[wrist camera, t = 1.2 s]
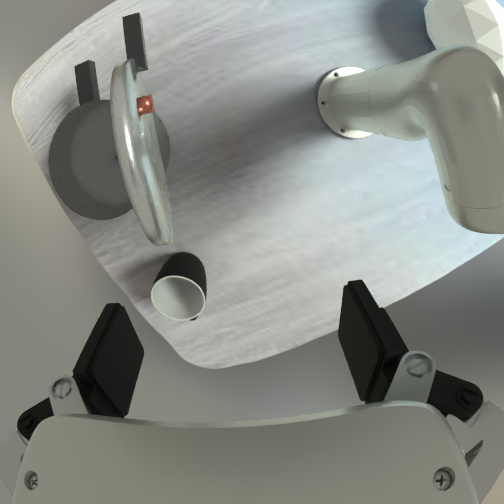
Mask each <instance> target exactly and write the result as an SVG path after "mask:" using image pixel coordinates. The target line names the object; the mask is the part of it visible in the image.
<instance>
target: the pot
mask: <svg viewBox="0 0 504 504" xmlns="http://www.w3.org/2000/svg"><path fill="white" fill-rule="evenodd" d="M75 75H76V83H77V90H78V97H79V103H80V106H79V107H77V108H75V109H74V110H73V111H71V112H70V113H69V114H68V115H67V116H66V117H65V118H64V119H63V120H62V122H61V123H60V125H59V126H58V128H57V130H56V132H55V134H54V136H53V139H52V142H51V146H50V151H49V171H50V176H51V180H52V183H53V185H54V188H55V190H56V192H57V193H58V195H59V197H60V198H61V199H62V201H63V202H64V203H65V204H66V205H67V206H68V207H69V208H70V209H72V210H73V211H74V212H76V213H78V214H79V215H81V216H84V217H86V218H90V219H96V220H107V219H112V218H115V217H118V216H121V215H123V214H125V213H126V212H128V211H129V210H131V209H132V208H133V206H132V204H131V201H130V198H129V195H128V192H127V189H126V186H125V183H124V180H123V176H122V172H121V169H120V165H119V160H118V156H117V151H116V146H115V140H114V134H113V127H112V118H111V104H110V100H100V96H99V90H98V83H97V76H96V69H95V62H94V61H90V60H87V61H85V62H83V63H81V64H79V65H77V66H75ZM152 115H153V119H154V123H155V124H156V128H157V133H158V138H159V143H160V147H161V152H162V157H163V161H164V162H163V167H164V171H165V169H166V166H167V163H168V159H169V152H170V144H169V137H168V134H167V131H166V128H165V126H164V124H163V122H162V121H161V119H160V118H159V117H158V116H157V114H156V113H154V112H152Z"/></svg>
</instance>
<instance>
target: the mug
mask: <svg viewBox="0 0 504 504" xmlns="http://www.w3.org/2000/svg"><path fill="white" fill-rule="evenodd" d="M206 292H207V287H206V274H205V270H204V266H203V264H202V262H201V261H200V260H199V259H198V258H197V257H196V256H195V255H193V254H190V253H185V252H183V253H178V254H175V255H173V256H172V257H171V258H169V259H168V260H167V262H166V263H165V264H164V265H163V267H162V268H161V270H160V272H159V273H158V275H157V277H156V279H155V281H154V283H153V286H152V289H151V301H152V304H153V305H154V307H155V308H156V310H157V311H158V312H159V313H161V314H162V315H163V316H165V317H167V318H170V319H173V320H178V321H185V320H191V321H192V320H195V319H196V318H197V317H198V315H199V314H200V313H201V312H202V311H203V309H204V307H205V303H206Z"/></svg>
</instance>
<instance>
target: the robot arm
mask: <svg viewBox="0 0 504 504" xmlns="http://www.w3.org/2000/svg"><path fill="white" fill-rule="evenodd" d="M334 74H335V75H336V76H334ZM321 102H323V105H322V104H321ZM317 103H318V108H319V112H320V114H321V116H322V118H323V120H324V121H325V123H326V124H327V125H328V126H329V127H330V128H331V129H332V130H333V131H335V132H336V133H338V134H340V135H342V136H345V137H348V138H354V139H358V138H365V137H368V136H370V135H372V134H378V135H383V136H387V137H392V138H396V139H401V140H405V141H420V140H423V139H426V138H428V140H429V143H430V146H431V150H432V152H433V155H434V158H435V162H436V166H437V170H438V174H439V178H440V182H441V186H442V190H443V195H444V199H445V203H446V206H447V209H448V211H449V213H450V215H451V217H452V218H453V220H454V221H455V222H456V223H457V224H459V225H460V226H462V227H463V228H465V229H468V230H470V231H474V232H478V233H486V234H504V77H503V75H502V73H501V71H500V69H499V68H498V66H497V65H496V63H495V62H494V61H493V60H492V59H491V58H490V57H489V56H488V55H487V54H486V53H485V52H483V51H482V50H480V49H478V48H476V47H473V46H470V45H450V46H446V47H442V48H439V49H436V50H434V51H432V52H429V53H427V54H425V55H423V56H420V57H418V58H415V59H412V60H409V61H405V62H401V63H397V64H392V65H388V66H383V67H378V68H374V69H370V70H363V69H360V68H357V67H351V66H349V67H341V68H338V69H335V70H333V71H332V72H330V73H329V74H327V75H326V77H325V78H324V79H323V80H322V82H321V84H320V86H319V89H318V94H317ZM340 129H342V131H340ZM338 337H339V341H340V344H341V346H342V349H343V352H344V355H345V357H346V360H347V363H348V366H349V369H350V371H351V374H352V377H353V380H354V383H355V386H356V389H357V392H358V395H359V398H360V400H361V401H365V403H366V404H365V405H359V406H354V407H349V408H344V409H338V410H333V411H327V412H320V413H314V414H308V415H301V416H294V417H285V418H277V419H267V420H254V421H240V422H239V421H238V422H202V423H201V422H199V423H198V422H163V421H149V420H136V419H126V418H124V416H126V415H127V414H128V411H129V407H130V403H131V399H132V396H133V392H134V389H135V385H136V381H137V378H138V374H139V371H140V367H141V364H142V360H143V357H144V350H143V347H142V345H141V343H140V340H139V338H138V336H137V334H136V332H135V330H134V328H133V325H132V323H131V321H130V319H129V317H128V314H127V312H126V310H125V308H124V307H123V306H121V304H119V303H110V304H109V303H108V304H107V305H106V306H105V308H104V309H103V311H102V313H101V315H100V317H99V319H98V321H97V322H96V324H95V326H94V328H93V330H92V332H91V334H90V336H89V338H88V340H87V342H86V344H85V346H84V348H83V350H82V352H81V354H80V357H79V359H78V361H77V363H76V365H75V368H74V369H73V373H74V374H73V376H72V377H71V376H68V375H63V376H60V377H58V378H56V379H55V380H54V381H53V382H52V383H51V385H50V387H49V391H48V392H49V397H48V398H47V399H45V400H43V401H42V402H40V403H38V404H37V405H35V406H33V407H32V408H30V409H28V410H27V411H25V412H24V413H23V414H22V415H21V416H20V417H19V419H18V423H17V428H18V430H16V429H13V431H11V433H10V434H9V435H8V436H7V437H6V438H5V439H4V440H3V441H2V442H1V443H0V477H1V479H2V481H3V482H4V484H5V486H6V487H7V489H8V490H9V492H10V494H11V495H12V497H13V501H12V504H481V502H482V501H483V500H484V498H485V496H486V495H487V494H488V492H489V491H490V489H491V488H492V486H493V485H494V483H495V481H496V480H497V478H498V477H499V475H500V473H501V472H502V470H503V468H504V411H503V410H501V409H500V408H499V407H497V406H496V405H495V404H493V403H492V402H490V401H489V400H488V401H487V402H485V401H484V400H483V395H482V392H481V390H480V389H479V387H477V386H476V385H475V384H473V383H470V382H468V381H465V380H462V379H459V378H457V377H454V376H451V375H449V374H446V373H443V372H441V371H438V370H436V364H435V361H434V359H433V358H432V357H431V356H430V355H429V354H427V353H425V352H423V351H411V352H409V350H408V349H407V347H406V345H405V343H404V341H403V340H402V338H401V336H400V334H399V333H398V331H397V329H396V327H395V326H394V324H393V322H392V321H391V319H390V317H389V315H388V314H387V312H386V310H385V309H384V308H382V307H381V308H379V307H378V305H377V303H376V302H375V300H374V298H373V297H372V295H371V293H370V292H369V290H368V288H367V287H366V285H365V283H364V282H363V281H362V280H355V281H349V282H348V284H347V285H345V286H344V288H343V297H342V306H341V314H340V322H339V330H338ZM460 446H461V447H462V449H463V450H464V453H465V457H464V455H463V452H462V450H461V447H460Z"/></svg>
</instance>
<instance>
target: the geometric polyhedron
mask: <svg viewBox="0 0 504 504" xmlns="http://www.w3.org/2000/svg"><path fill="white" fill-rule="evenodd" d="M424 14H425V21H426V28H427V34H428V36H429V38H430V39H431V41H432V43H433V45H434V46H435V48H436V49H439V48H442V47H446V46H450V45H470V46H473V47H476V48H478V49H480V50H482V51H483V52H485V53H486V54H487V55H488V56H489V57H490V58H491V59H492V60H493V61H494V62H495V63H496V65H497V66H498V68H499V69H500V71H501V73H502V75H503V77H504V8H502V7H501V6H500V5H499V4H498V3H497V2H496V1H495V0H428V2H427V4H426V6H425V7H424Z"/></svg>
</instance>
